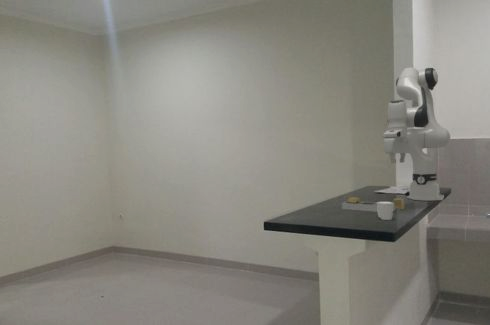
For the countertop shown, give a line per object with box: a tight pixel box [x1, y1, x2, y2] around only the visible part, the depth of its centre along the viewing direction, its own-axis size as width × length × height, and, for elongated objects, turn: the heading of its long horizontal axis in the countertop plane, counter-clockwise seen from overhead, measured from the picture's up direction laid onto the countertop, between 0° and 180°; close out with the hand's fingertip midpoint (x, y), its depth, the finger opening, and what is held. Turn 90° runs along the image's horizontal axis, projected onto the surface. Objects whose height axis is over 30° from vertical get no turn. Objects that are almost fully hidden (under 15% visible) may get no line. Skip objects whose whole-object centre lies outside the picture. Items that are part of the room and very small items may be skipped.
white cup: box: [376, 201, 394, 221], centre depth 173 cm, size 7×7×7 cm
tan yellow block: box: [392, 197, 405, 211], centre depth 194 cm, size 4×4×5 cm
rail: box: [341, 200, 397, 213], centre depth 193 cm, size 8×23×4 cm, turn 50°
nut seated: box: [347, 196, 360, 204], centre depth 197 cm, size 4×4×5 cm
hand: (397, 162), depth 194 cm, fingers open, 8 cm apart
